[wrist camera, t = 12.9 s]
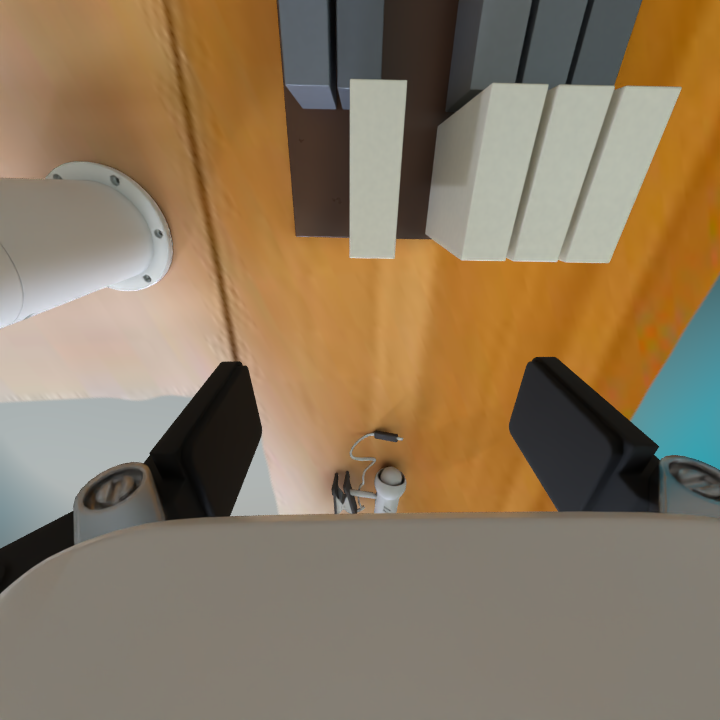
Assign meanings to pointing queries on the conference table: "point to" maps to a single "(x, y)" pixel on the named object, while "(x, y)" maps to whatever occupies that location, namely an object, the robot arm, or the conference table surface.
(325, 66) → the grey books
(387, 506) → the clip-on lamp
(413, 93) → the shelf board
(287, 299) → the conference table surface
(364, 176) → the ivory book
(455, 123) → the ivory books
